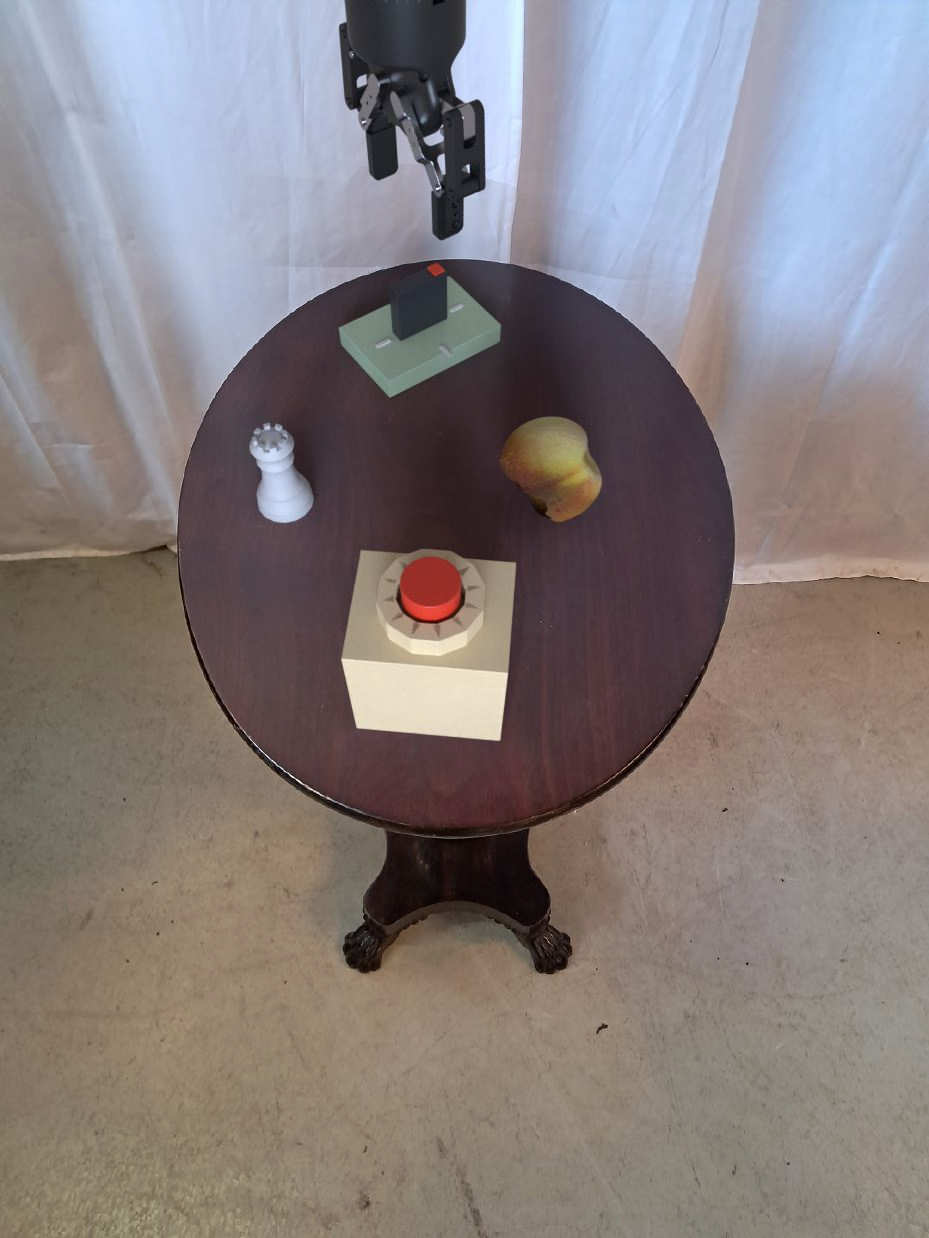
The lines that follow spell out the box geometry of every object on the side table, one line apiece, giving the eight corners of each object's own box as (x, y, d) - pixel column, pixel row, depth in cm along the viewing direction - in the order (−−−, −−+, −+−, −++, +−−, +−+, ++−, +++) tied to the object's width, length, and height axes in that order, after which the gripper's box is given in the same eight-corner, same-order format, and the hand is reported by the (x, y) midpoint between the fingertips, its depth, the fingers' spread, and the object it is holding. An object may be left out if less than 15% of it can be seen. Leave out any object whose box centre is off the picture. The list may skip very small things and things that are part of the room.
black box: (401, 341, 80) (397, 292, 75) (392, 332, 80) (388, 283, 76) (447, 319, 81) (447, 269, 77) (438, 310, 82) (437, 260, 77)
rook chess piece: (286, 473, 75) (269, 403, 68) (326, 501, 73) (313, 433, 66) (246, 506, 73) (225, 438, 66) (286, 535, 71) (268, 469, 64)
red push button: (397, 620, 54) (396, 604, 53) (405, 569, 56) (403, 553, 54) (457, 625, 54) (458, 609, 52) (463, 574, 56) (463, 558, 54)
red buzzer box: (356, 728, 63) (337, 644, 53) (372, 629, 67) (358, 533, 57) (500, 741, 63) (509, 659, 52) (507, 640, 67) (518, 545, 56)
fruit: (575, 555, 71) (588, 490, 64) (479, 517, 72) (481, 450, 66) (610, 486, 74) (626, 418, 67) (518, 452, 76) (524, 381, 69)
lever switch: (393, 402, 79) (392, 384, 77) (337, 341, 82) (334, 322, 81) (504, 346, 82) (505, 327, 81) (445, 289, 86) (445, 270, 84)
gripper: (289, -69, 56) (323, 174, 70) (417, 32, 50) (427, 276, 64) (391, -102, 58) (404, 141, 72) (525, -8, 53) (512, 236, 67)
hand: (415, 204), depth 68 cm, fingers open, 8 cm apart
